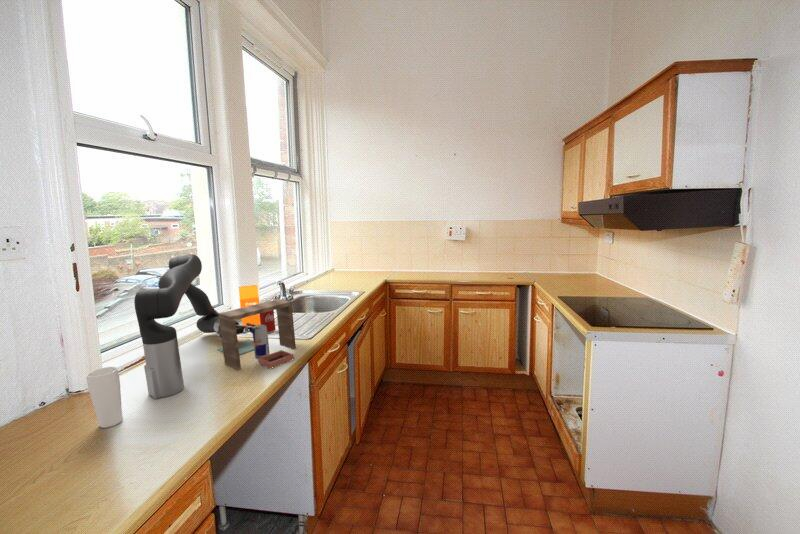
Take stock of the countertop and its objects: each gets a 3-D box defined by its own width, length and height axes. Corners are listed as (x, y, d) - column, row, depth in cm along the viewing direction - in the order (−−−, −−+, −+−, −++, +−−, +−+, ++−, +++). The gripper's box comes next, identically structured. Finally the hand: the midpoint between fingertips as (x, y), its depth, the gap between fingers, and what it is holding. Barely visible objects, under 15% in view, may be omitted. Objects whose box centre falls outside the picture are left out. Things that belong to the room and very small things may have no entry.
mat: (233, 357, 151) (233, 356, 150) (217, 349, 159) (216, 349, 159) (266, 346, 161) (266, 345, 161) (248, 340, 170) (248, 339, 170)
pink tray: (270, 368, 138) (269, 363, 137) (258, 363, 143) (257, 358, 142) (294, 359, 145) (293, 354, 145) (281, 355, 150) (281, 350, 150)
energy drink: (252, 357, 149) (248, 327, 147) (262, 352, 154) (259, 323, 152) (262, 359, 147) (258, 329, 145) (272, 354, 151) (269, 325, 149)
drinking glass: (121, 414, 111) (113, 364, 108) (129, 421, 106) (121, 370, 104) (92, 425, 105) (83, 373, 103) (99, 433, 101) (89, 379, 99)
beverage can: (271, 334, 176) (268, 309, 174) (258, 334, 177) (256, 309, 175) (278, 330, 182) (275, 305, 180) (266, 330, 183) (263, 305, 181)
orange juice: (262, 325, 191) (257, 286, 187) (242, 328, 187) (238, 288, 184) (261, 321, 198) (257, 283, 195) (242, 324, 195) (238, 285, 192)
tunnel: (236, 369, 138) (230, 317, 135) (224, 364, 144) (218, 313, 141) (295, 348, 157) (291, 301, 154) (283, 344, 163) (278, 298, 160)
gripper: (208, 323, 161) (227, 330, 150) (241, 315, 171) (261, 320, 161) (211, 340, 162) (229, 348, 151) (243, 331, 173) (262, 337, 162)
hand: (245, 334), depth 156 cm, fingers open, 8 cm apart
